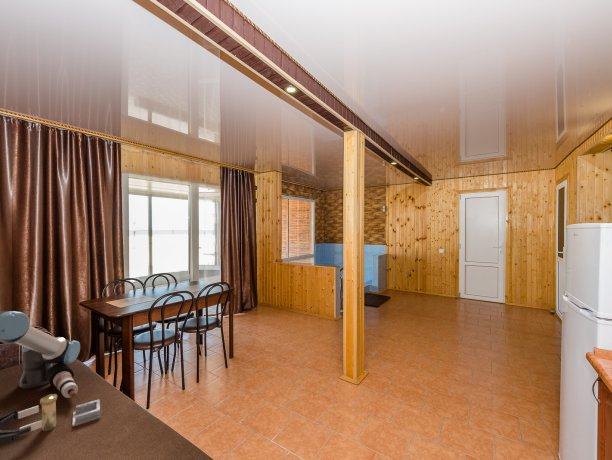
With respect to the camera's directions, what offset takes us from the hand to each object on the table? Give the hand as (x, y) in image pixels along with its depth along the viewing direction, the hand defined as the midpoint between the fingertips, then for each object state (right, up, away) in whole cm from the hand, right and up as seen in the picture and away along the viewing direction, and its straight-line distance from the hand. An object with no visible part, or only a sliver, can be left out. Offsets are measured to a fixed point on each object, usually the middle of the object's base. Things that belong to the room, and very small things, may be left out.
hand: (40, 415), depth 126 cm
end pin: (+2, -7, +3) cm, 7 cm away
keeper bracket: (+12, -6, +10) cm, 17 cm away
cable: (-11, -4, +27) cm, 30 cm away
